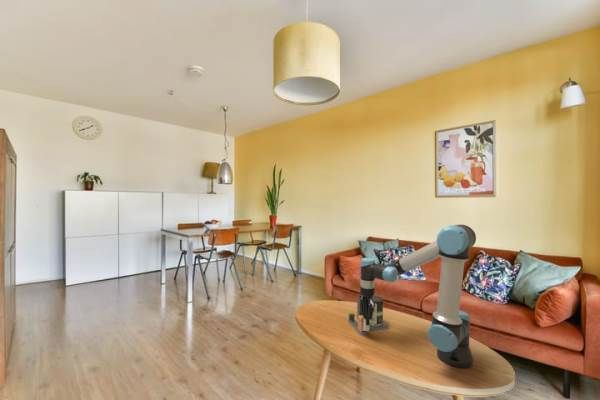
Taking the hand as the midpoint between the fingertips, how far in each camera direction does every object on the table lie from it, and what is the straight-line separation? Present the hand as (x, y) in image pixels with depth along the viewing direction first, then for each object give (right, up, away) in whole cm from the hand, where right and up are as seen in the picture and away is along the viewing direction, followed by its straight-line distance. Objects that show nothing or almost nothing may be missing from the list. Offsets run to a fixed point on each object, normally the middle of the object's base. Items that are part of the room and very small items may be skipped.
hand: (366, 330), depth 152 cm
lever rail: (-3, -4, +10) cm, 11 cm away
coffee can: (+8, -2, +15) cm, 17 cm away
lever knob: (-1, -2, +4) cm, 5 cm away
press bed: (+8, -4, +17) cm, 19 cm away
